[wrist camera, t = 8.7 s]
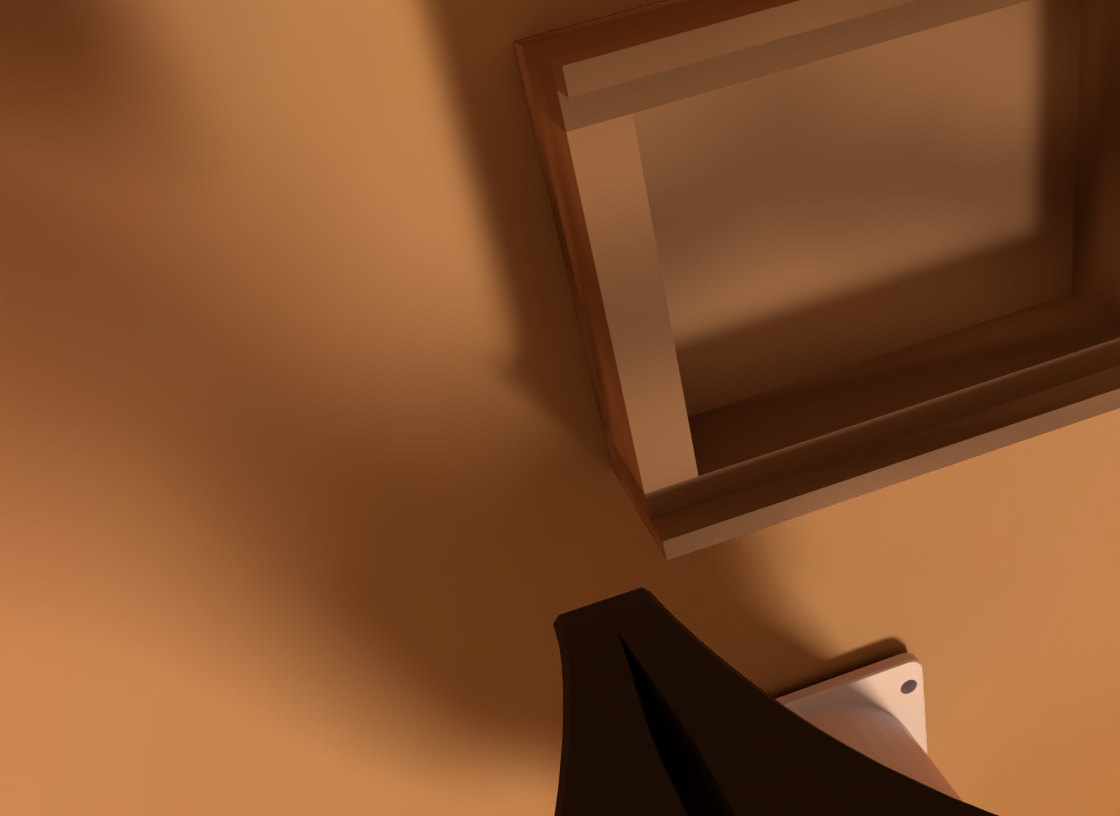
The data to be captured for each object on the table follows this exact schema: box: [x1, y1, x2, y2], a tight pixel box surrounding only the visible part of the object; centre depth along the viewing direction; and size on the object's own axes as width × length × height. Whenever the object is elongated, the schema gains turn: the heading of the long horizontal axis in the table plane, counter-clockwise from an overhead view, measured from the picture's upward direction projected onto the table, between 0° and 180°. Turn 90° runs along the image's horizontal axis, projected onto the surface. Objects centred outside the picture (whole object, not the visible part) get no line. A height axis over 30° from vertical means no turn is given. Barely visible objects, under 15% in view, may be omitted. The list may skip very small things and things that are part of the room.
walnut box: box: [514, 0, 1120, 561], centre depth 20 cm, size 10×13×4 cm
